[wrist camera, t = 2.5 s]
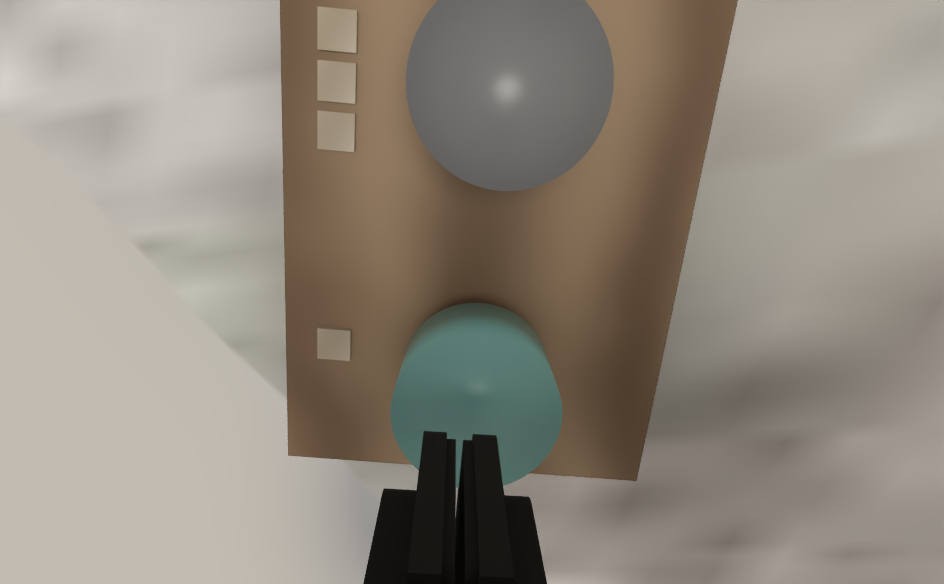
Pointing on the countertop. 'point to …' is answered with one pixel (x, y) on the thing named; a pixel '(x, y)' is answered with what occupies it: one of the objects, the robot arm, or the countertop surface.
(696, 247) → the countertop surface
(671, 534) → the countertop surface
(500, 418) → the button teal one
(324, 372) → the button panel
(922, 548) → the countertop surface
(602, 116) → the button charcoal three
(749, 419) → the countertop surface
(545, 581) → the robot arm
